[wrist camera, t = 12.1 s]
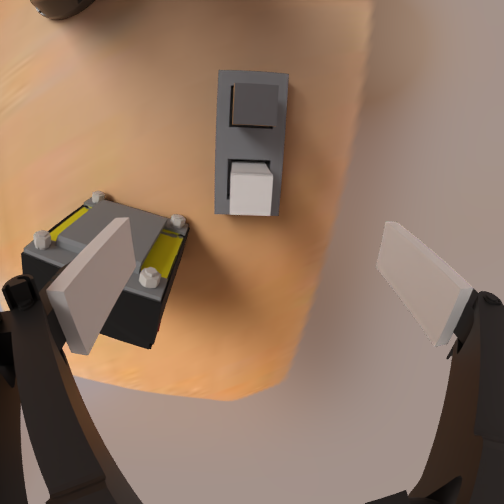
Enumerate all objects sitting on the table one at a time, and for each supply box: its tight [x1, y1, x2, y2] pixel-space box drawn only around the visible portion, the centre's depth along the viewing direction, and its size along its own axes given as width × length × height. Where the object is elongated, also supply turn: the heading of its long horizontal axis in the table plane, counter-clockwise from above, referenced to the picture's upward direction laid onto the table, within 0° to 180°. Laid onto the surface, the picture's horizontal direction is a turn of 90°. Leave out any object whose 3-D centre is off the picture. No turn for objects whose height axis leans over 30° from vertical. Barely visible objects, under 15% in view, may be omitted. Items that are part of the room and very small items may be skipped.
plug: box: [232, 83, 279, 127], centre depth 32 cm, size 5×5×11 cm
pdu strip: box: [215, 70, 289, 216], centre depth 38 cm, size 20×9×4 cm, turn 177°
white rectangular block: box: [230, 160, 273, 216], centre depth 36 cm, size 5×5×11 cm
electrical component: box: [21, 191, 189, 349], centre depth 36 cm, size 18×10×20 cm, turn 70°
